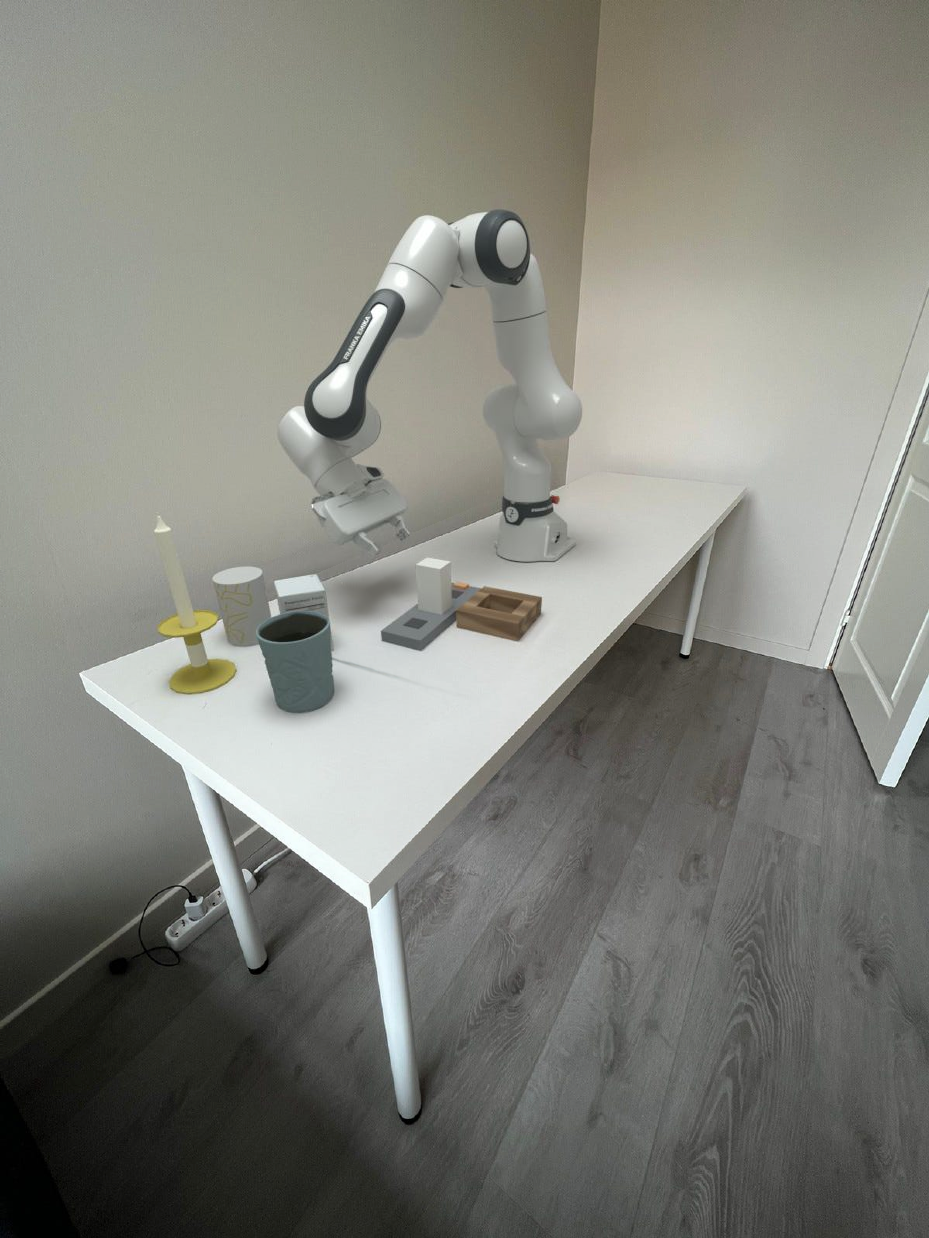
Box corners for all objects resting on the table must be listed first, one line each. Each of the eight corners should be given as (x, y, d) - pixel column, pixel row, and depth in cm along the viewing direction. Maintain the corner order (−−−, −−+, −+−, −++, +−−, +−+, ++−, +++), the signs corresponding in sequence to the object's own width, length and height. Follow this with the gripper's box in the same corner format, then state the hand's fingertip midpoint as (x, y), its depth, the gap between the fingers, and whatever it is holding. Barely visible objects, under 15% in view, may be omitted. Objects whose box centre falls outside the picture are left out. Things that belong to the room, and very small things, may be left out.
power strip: (447, 594, 113) (447, 578, 111) (481, 601, 110) (481, 585, 108) (382, 645, 94) (380, 627, 92) (421, 655, 91) (419, 636, 89)
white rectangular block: (429, 610, 104) (427, 557, 99) (452, 615, 102) (450, 561, 97) (418, 619, 101) (415, 564, 96) (441, 624, 99) (439, 569, 94)
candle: (188, 660, 91) (142, 503, 78) (246, 660, 90) (209, 502, 78) (156, 694, 82) (99, 523, 69) (220, 694, 81) (174, 522, 69)
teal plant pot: (274, 722, 75) (258, 649, 70) (267, 685, 83) (252, 617, 78) (346, 704, 79) (336, 633, 73) (332, 671, 87) (322, 604, 81)
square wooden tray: (484, 606, 108) (484, 586, 106) (540, 618, 103) (542, 597, 101) (456, 632, 98) (456, 610, 96) (517, 646, 93) (518, 623, 91)
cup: (217, 642, 96) (201, 580, 90) (248, 622, 103) (235, 564, 97) (254, 649, 93) (240, 587, 88) (283, 629, 100) (272, 569, 95)
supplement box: (285, 645, 95) (272, 579, 89) (327, 637, 97) (318, 572, 91) (290, 665, 89) (277, 596, 83) (335, 656, 91) (325, 588, 85)
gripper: (313, 488, 88) (367, 553, 89) (384, 466, 105) (429, 521, 105) (297, 512, 92) (348, 573, 93) (368, 486, 108) (411, 539, 109)
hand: (392, 545), depth 99 cm, fingers open, 8 cm apart
